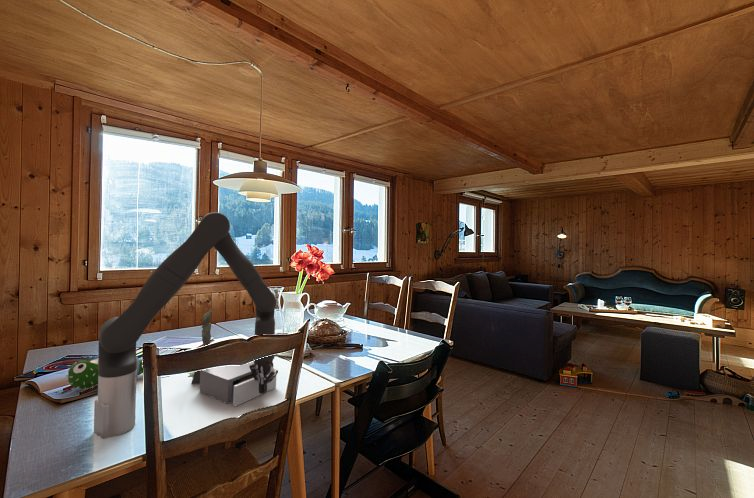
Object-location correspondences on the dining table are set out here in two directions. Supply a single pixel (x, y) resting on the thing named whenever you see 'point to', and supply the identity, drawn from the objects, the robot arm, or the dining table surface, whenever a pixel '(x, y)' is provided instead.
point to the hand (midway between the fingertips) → (262, 392)
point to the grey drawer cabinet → (222, 381)
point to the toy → (89, 373)
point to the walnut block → (246, 378)
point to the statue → (204, 340)
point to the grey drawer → (248, 390)
